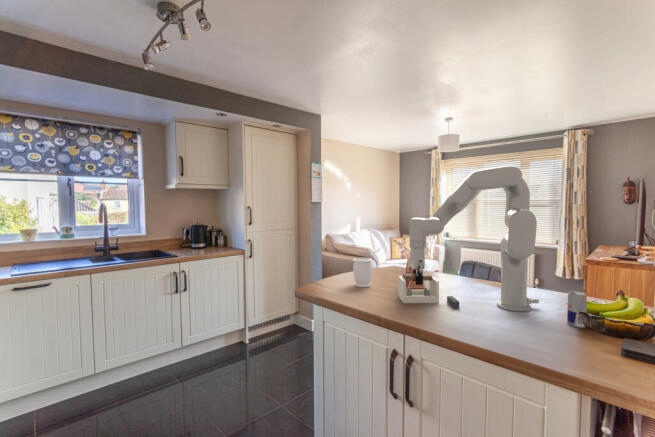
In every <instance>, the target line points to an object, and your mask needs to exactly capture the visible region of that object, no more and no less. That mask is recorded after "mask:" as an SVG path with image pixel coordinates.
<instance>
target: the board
mask: <svg viewBox="0 0 655 437" xmlns="http://www.w3.org/2000/svg"><path fill="white" fill-rule="evenodd" d="M402 275H403V277H402V278H403V279H404V280H416V273H406V272H404V273H403V274H402ZM432 276H433V275H432V274H430V273H426V272H425V273H424V272H423V280H424V281H429V280H432Z"/></svg>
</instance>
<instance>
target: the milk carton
mask: <svg viewBox="0 0 655 437" xmlns="http://www.w3.org/2000/svg"><path fill="white" fill-rule="evenodd" d="M412 269H413V268H412V267H411V266H410V255H409V256H408V257H407V260H406V266H405V273H414V272H412ZM404 280H405V279H404ZM405 281H406V289H407V288H410V290H424V288H426V284H425V280H423V284H422V285H417V284H416V281H413V280H405Z"/></svg>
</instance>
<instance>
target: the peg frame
mask: <svg viewBox="0 0 655 437" xmlns="http://www.w3.org/2000/svg"><path fill="white" fill-rule="evenodd" d="M431 276H432V280H428V287H425V288H424V290H410V288H406V281H405V279H404V278H403V277H402V275H398V277H397V278H398V279H397V280H398V297H399V299H400V300H401V302H402V304H439V303H440V281H439V280H438V279H437V278H436V277H434V276H433V275H431Z"/></svg>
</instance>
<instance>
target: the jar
mask: <svg viewBox="0 0 655 437" xmlns="http://www.w3.org/2000/svg"><path fill="white" fill-rule="evenodd" d="M352 261H353V264H352V265H353V266H352V272H353V278H354V281H355V284H354V285H355V287H358V288H369V287H371V284H370V283H371V280H372V274H373V264H372V261H373V260H372V258H370V257H364V256H363V257H355V258H353V259H352Z"/></svg>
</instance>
